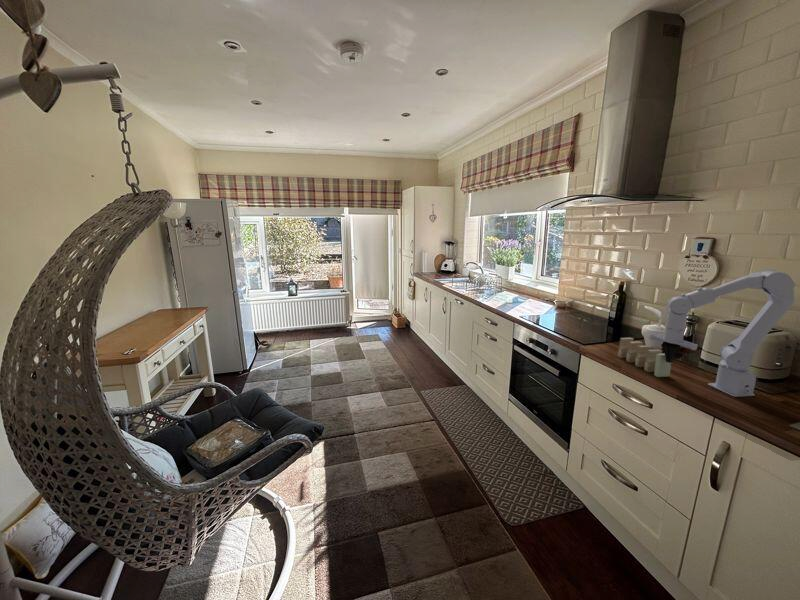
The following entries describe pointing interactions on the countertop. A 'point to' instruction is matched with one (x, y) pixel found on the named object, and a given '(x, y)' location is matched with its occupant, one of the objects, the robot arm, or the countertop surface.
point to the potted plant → (655, 327)
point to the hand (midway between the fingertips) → (669, 361)
